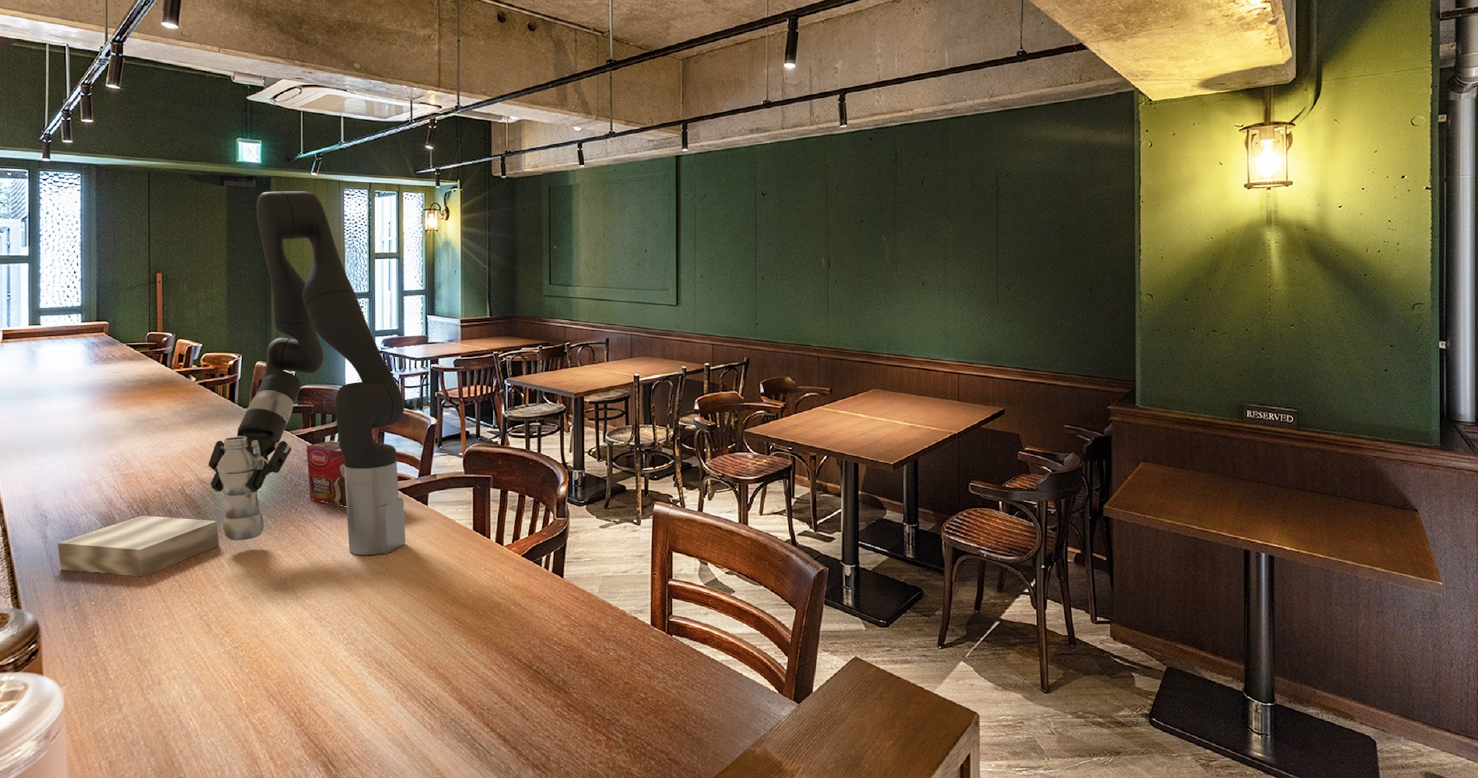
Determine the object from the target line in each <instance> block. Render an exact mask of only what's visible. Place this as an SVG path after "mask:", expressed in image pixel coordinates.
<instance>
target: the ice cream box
mask: <svg viewBox="0 0 1478 778" xmlns="http://www.w3.org/2000/svg"><path fill="white" fill-rule="evenodd" d="M306 457H307V471H308V485H309V486H308V487H309V498H310V499H314V500H317V501H316V502H318V501H324V502H328V503H332V504H331V505H333V504H335V505H334V506H337V505H343V506H347V504H346V488H345V470H344V458H343V455H342V452H341V449H340V445H339V441H335V440H329V441H324V442H319V443H314V444H308V445H306ZM310 499H309V500H310ZM314 500H313V501H314ZM328 503H327V504H328Z"/></svg>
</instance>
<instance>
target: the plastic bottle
mask: <svg viewBox="0 0 1478 778" xmlns="http://www.w3.org/2000/svg"><path fill="white" fill-rule="evenodd" d="M223 443H224V449H226V452H225V454H224V455H223V456H222V458H221V459H220V461H219V463H218V467H217V468H218V472H219V476H220V480H221V483H222V488H223V489H222V493H223V498H224V518H223V527H222V528H223V532H224V535H225V537H226V538H227V539H229V540H230V541H244V540H250V539H254V538H257V537H259V536H260V535H262V533H263V532H264V527H265V522H264V518H263V514H262V512H261V508H260V502H259V498H258V491H257V492H252V491H251V490H250V489H249V488H248V484H249V482H250V480H251V477H252V475H253V473H254V472H255V470H257V461H256V459H255V458H254V456H253V455H252V454H251V453H250V452H249V451H248V450H247V448H246V447H248V444H247V437H237V436H232V437H226V438H224V439H223Z"/></svg>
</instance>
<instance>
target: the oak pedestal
mask: <svg viewBox="0 0 1478 778" xmlns="http://www.w3.org/2000/svg"><path fill="white" fill-rule="evenodd" d="M218 530H219V529H218V522H217V520H209V519H205V520H204V519H193V518H192V519H191V518H179V517H169V516H168V517H165V516H152V515H140V516H137V517H133V518H131V519H127V520H124V521H121V522H118V523H115V524H112V525H109V526H106V527H103V528H99V529H97V530H94V531H90V532H87V533H84V534H81V535H78V536H75V537H72V538H70V539H67V540H62V541H60V542H57V550H58V557H59V563H60V564H59V566H60V570H62V571H63V570H64V571H73V572H83V571H90V572H89V573H94V572H100V573H99V574H105V573H108V574H107V575H117V574H118V575H120V576H128V575H135V576H134V577H139V576H142V578H143V577H145V576H144V575H146V576H148V575H151V574H152V572H153V573H155V572H158V571H160V570H163V569H165V568H167V567H169V566H172V565H175V564H177V563H179V562H181V561H185V560H187V559H189V558H191V557H194V556H196V555H199V554H202V553H204V552H206V551H208V550H211V549H214V548H216V547H219V546H220V543H219V532H218ZM162 568H163V569H162ZM154 571H155V572H154ZM109 573H110V574H109Z"/></svg>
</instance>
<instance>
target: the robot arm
mask: <svg viewBox="0 0 1478 778" xmlns="http://www.w3.org/2000/svg"><path fill="white" fill-rule="evenodd" d="M256 200H257V201H256V217H257V225H258V229H259V234H260V238H261V239H260V240H261V244H262V248H263V249H262V250H263V253H264V257H265V263H266V266H267V270H268V276H269V280H270V285H271V286H270V287H271V289H272V291H271V292H272V304H273V319H274V320H273V322H274V326H275V329H276V330H277V331H279V332H280V333H283V334H285V335H287V336H290V337H292V338H288V337H278V338H275V339H273V340H272V341H271V342H270V343H269V344H268V346H267V348H266V362H265V369H264V374H263V379H262V382H261V383H260V386H259V387H258V390H257V391H256V393H255V395H254V397H253V398H252V400H251V401H250V403H249V406H248V407H247V409H246V411H245V414H244V415H243V418H242V420H241V422H240V424H239V426H238V427H237V428H238V429H237V434H236V435H237V436H236V437H247V444H248V447H246V448H247V450H248V451H249V452H250V453H251V454H252V455H253V456H254V458H255V459H256V461H257V470H255V472H254V473H253V475H252V477H251V480H250V482H249V484H248V488H249V489H250V490H251V491H252V492H257V493H258V491H259V490H260V489H261V488H262V487H263V484H264V482H265V480H266V478H267V476H268V475H270V474H271V473H274V474H275V473H276V474H278V473H279V472H280V471H281V469H282V467H283V466H284V464H285V462H286V461H287V458H288V456H289V454H290V452H291V451H292V447H291V446H290V444H288V442H287V441H285V440H282V439H281V438H282V436H283V435H284V432H285V430H286V427H287V425H288V423H289V421H290V418H291V415H292V412H293V408H294V405H295V403H296V400H297V398H298V396H299V393H300V391H301V389H302V382H301V380H300V378H299V377H297V375H294V374H292V373H290V372H296V373H302V374H315V372H318V371H319V370H320V368H322V365H323V362H324V351H323V347H322V345H321V342H320V340H319V337H318V335H319V336H320V338H321V339H322V340H323V341H324V342H325V343H327V344H328V345H329V346H330V347H331V348H332V349H334V350H335V351H336V352H337V353H339V354H340V355H341V356H342V357H344V358H345V359H346V360H347V361H348V362H349V363H350V364H351V365H352V367H353V368H354V370H355V371H356V373H357V375H358V377H359V379H360V380H361V381H358V382H351V383H346V384H344V385H342V386H340V388H339V389H338V390H337V393H336V396H335V401H334V405H335V406H334V411H335V418H336V419H335V420H336V427H337V434H338V442H339V445H340V449H341V452H342V455H343V458H344V470H345V488H346V504H347V507H346V517H347V518H346V519H347V533H348V535H347V536H348V548H349V552H350V553H351V554H354V555H361V556H364V555H365V556H371V555H373V556H374V555H379V554H380V555H382V554H384V555H385V554H389V553H390V552H393V551H394V550H396V549H397V548H399V547H401V546H403V545H405V544H406V533H405V532H406V528H405V527H406V526H405V507H404V506H405V505H404V504H405V503H404V498H403V497H399V485H398V484H399V482H398V463H397V462H398V461H397V458H398V457H397V450H396V447H394V446H393V445H392V444H388V443H381V442H377V441H375V440H374V436H373V430H372V429H377V428H382V427H388V426H393V425H395V424H397V423H399V422H400V421H401V420H402V418H403V416H404V413H405V404H404V398H403V395H402V393H401V390H400V388H399V385H398V383H397V381H396V380H395V378H394V376H393V374H392V373H391V372H392V371H391V370H390V369H389V367H388V365H387V363H386V361H385V359H384V358H383V355H382V354H381V352H380V350H379V347H378V346H377V344H376V342H375V339H374V337H373V334H372V333H371V329H370V328H369V326H368V324H367V320H366V319H365V315H364V313H363V310H362V307H361V305H360V303H359V300H358V298H357V295H356V292H355V291H354V289H353V286H352V284H351V282H350V280H349V276H348V275H347V273H346V270H345V269H344V268H345V267H344V265H343V263H342V261H341V260H342V259H341V258H340V255H339V252H338V250H337V246H336V244H335V241H334V237H333V233H332V231H331V228H330V225H329V221H328V217H327V215H326V212H325V209H324V207H323V204H322V202H321V201H320V199H319V198H318V197H317V195H316V194H314V193H313V192H310V191H302V190H297V191H294V190H293V191H291V190H290V191H285V190H284V191H265V192H262V193H261V194H260V195H259V196H258V198H257V199H256ZM293 239H294V240H295V239H308V241H309V242H310V245H311V247H312V253H313V254H312V255H313V256H312V257H313V258H312V262H311V266H310V269H309V271H308V272H309V273H308V274H307V275H308V276H307V278H306V280H305V281H304V279H303V277H302V276H301V275H300V274H299V273H298V272H297V271H296V269H295V267H293V265H292V264H291V262H290V261H289V259H288V258H287V256H286V253H285V249H284V244H283V243H284V240H293ZM225 452H226V449H224V441H223V440H217V441H216V442H215V445H214V448H213V451H212V453H211V455H210V458H209V461H208V467H209V468H210V469H212V470H213V472H214V475H213V478H212V480H211V481H210V486H211V489H213V490H214V491H215V492H218V493H219V492H220V493H221V492H223V488H222V483H221V480H220V476H219V472H218V468H217V467H218V463H219V461H220V459H221V458H222V456H223V455H224V454H225ZM271 454H272V456H271V457H270V459H269V455H271Z"/></svg>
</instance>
